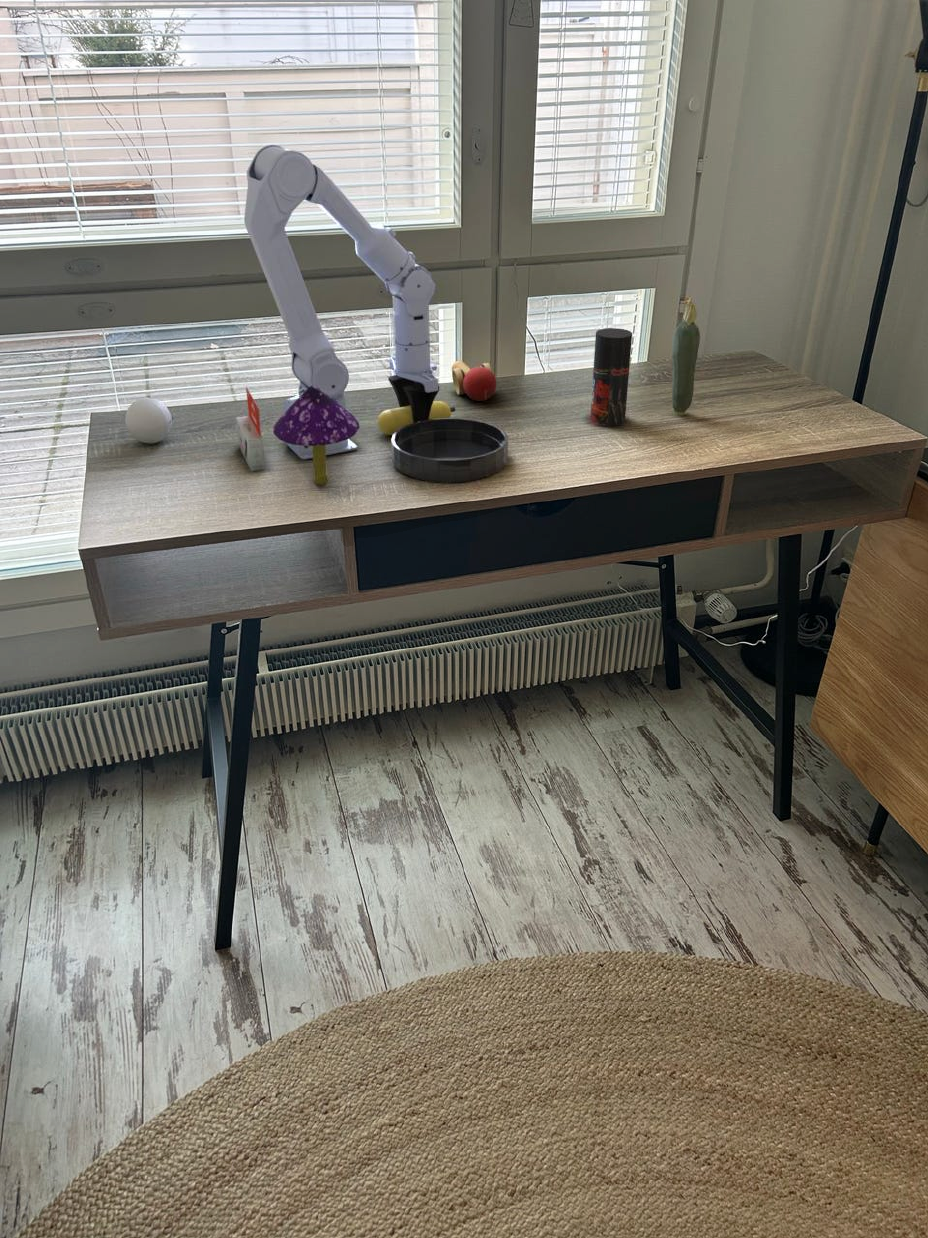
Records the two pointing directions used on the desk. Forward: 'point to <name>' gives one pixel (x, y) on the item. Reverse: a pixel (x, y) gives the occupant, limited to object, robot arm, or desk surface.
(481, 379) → the kendama
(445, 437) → the pan
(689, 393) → the vegetable
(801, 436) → the desk surface
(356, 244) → the robot arm
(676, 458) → the desk surface
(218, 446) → the desk surface
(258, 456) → the ink box
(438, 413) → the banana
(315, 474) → the decorative mushroom
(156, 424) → the white egg
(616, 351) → the deodorant
